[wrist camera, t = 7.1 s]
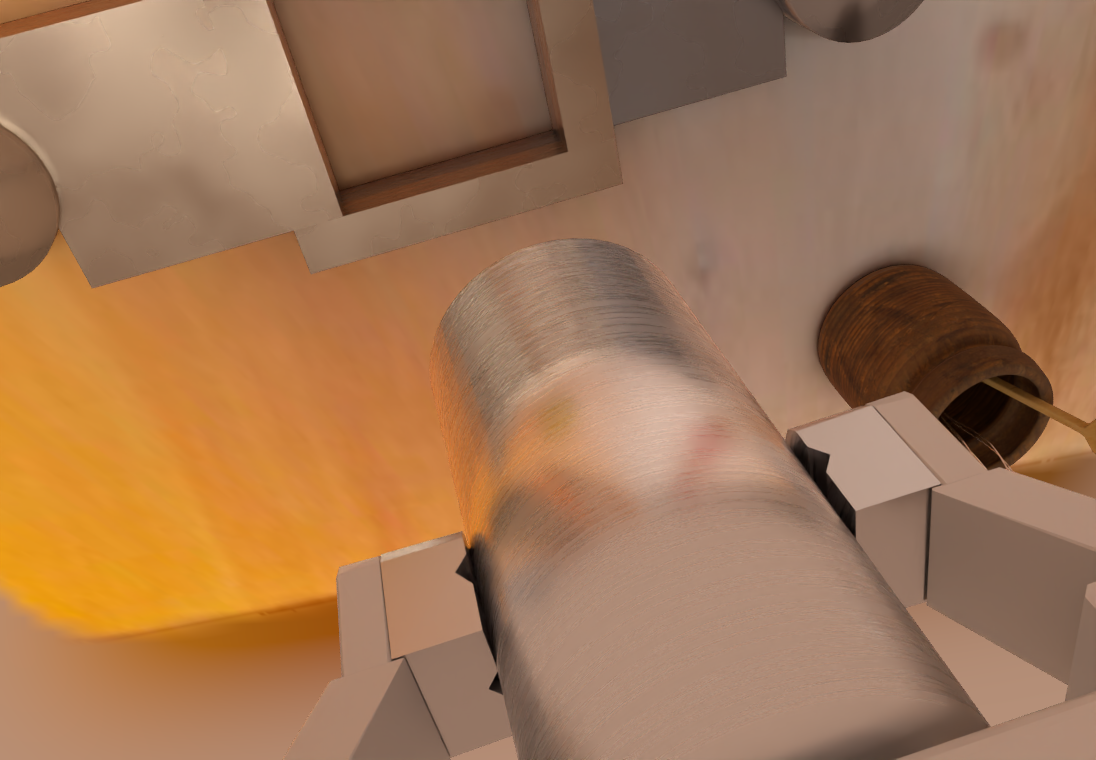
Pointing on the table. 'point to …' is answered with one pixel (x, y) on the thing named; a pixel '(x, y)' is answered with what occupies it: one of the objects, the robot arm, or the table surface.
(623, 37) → the lower chain link
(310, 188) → the upper chain link
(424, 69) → the table surface
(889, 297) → the utensil holder
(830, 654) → the steel pin
